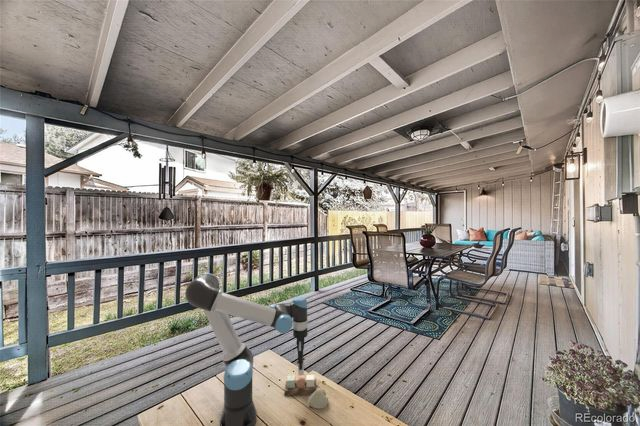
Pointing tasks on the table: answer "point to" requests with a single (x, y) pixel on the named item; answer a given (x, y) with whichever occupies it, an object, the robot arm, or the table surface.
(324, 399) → the grey rounded lump
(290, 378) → the button sage
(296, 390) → the walnut board
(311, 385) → the button cream
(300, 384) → the button terracotta
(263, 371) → the table surface
